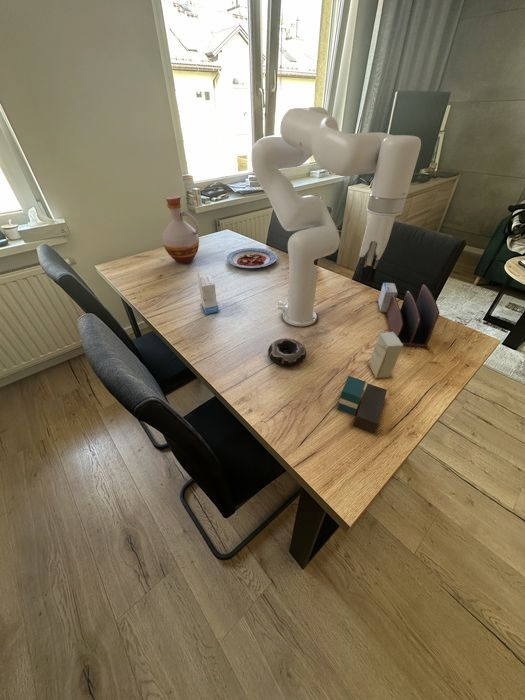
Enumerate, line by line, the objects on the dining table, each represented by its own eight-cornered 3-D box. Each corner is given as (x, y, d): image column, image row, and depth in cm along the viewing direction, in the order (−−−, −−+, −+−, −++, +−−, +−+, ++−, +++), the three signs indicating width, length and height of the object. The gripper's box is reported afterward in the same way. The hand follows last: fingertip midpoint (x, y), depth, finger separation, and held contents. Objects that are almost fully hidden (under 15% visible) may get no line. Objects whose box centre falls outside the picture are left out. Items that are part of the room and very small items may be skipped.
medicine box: (391, 313, 109) (398, 292, 104) (379, 312, 110) (385, 291, 105) (389, 302, 115) (395, 283, 110) (377, 301, 116) (383, 282, 111)
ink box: (218, 312, 111) (214, 276, 101) (205, 314, 109) (200, 278, 100) (213, 301, 117) (209, 267, 107) (201, 304, 116) (196, 269, 106)
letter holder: (413, 315, 108) (426, 281, 99) (426, 348, 93) (443, 311, 84) (385, 312, 110) (396, 278, 101) (393, 344, 95) (407, 307, 86)
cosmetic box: (368, 364, 87) (378, 331, 80) (382, 363, 88) (393, 331, 80) (376, 378, 83) (387, 346, 75) (391, 377, 83) (404, 345, 75)
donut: (269, 344, 95) (269, 334, 93) (305, 346, 94) (306, 336, 92) (266, 368, 86) (266, 358, 84) (305, 371, 85) (306, 361, 83)
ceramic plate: (277, 271, 139) (277, 265, 137) (224, 271, 139) (223, 265, 137) (276, 251, 158) (276, 246, 156) (229, 251, 159) (229, 246, 157)
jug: (210, 255, 155) (202, 193, 135) (196, 269, 141) (186, 202, 122) (176, 252, 158) (164, 191, 139) (160, 265, 145) (144, 200, 126)
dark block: (353, 426, 70) (356, 415, 68) (364, 393, 78) (367, 383, 76) (374, 434, 68) (378, 424, 66) (383, 399, 77) (387, 389, 74)
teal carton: (344, 417, 75) (326, 395, 73) (350, 401, 79) (333, 380, 77) (371, 412, 69) (352, 388, 68) (376, 395, 73) (358, 372, 72)
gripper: (375, 196, 70) (359, 267, 82) (361, 210, 60) (345, 289, 72) (408, 199, 67) (386, 272, 79) (398, 215, 57) (376, 296, 69)
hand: (367, 280), depth 75 cm, fingers closed
